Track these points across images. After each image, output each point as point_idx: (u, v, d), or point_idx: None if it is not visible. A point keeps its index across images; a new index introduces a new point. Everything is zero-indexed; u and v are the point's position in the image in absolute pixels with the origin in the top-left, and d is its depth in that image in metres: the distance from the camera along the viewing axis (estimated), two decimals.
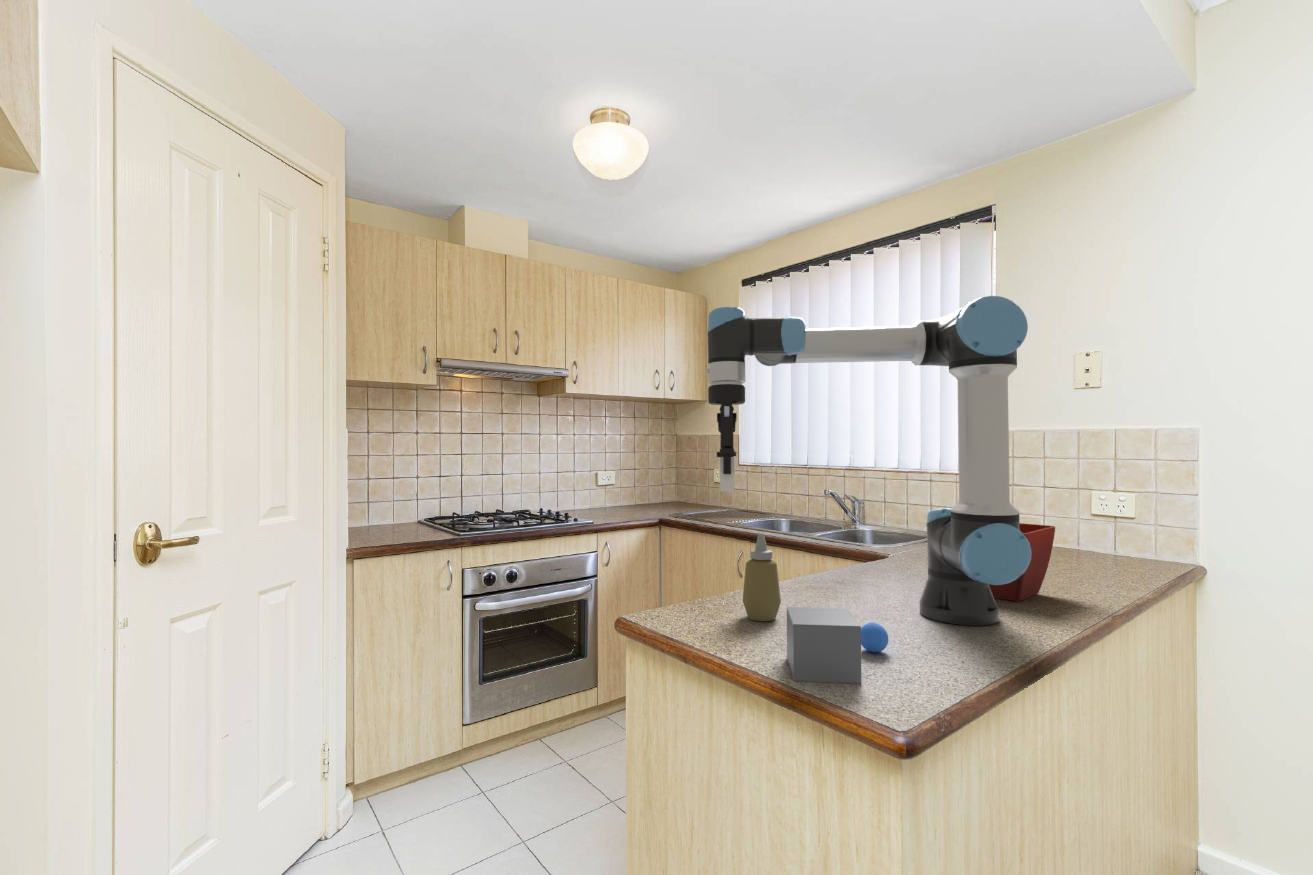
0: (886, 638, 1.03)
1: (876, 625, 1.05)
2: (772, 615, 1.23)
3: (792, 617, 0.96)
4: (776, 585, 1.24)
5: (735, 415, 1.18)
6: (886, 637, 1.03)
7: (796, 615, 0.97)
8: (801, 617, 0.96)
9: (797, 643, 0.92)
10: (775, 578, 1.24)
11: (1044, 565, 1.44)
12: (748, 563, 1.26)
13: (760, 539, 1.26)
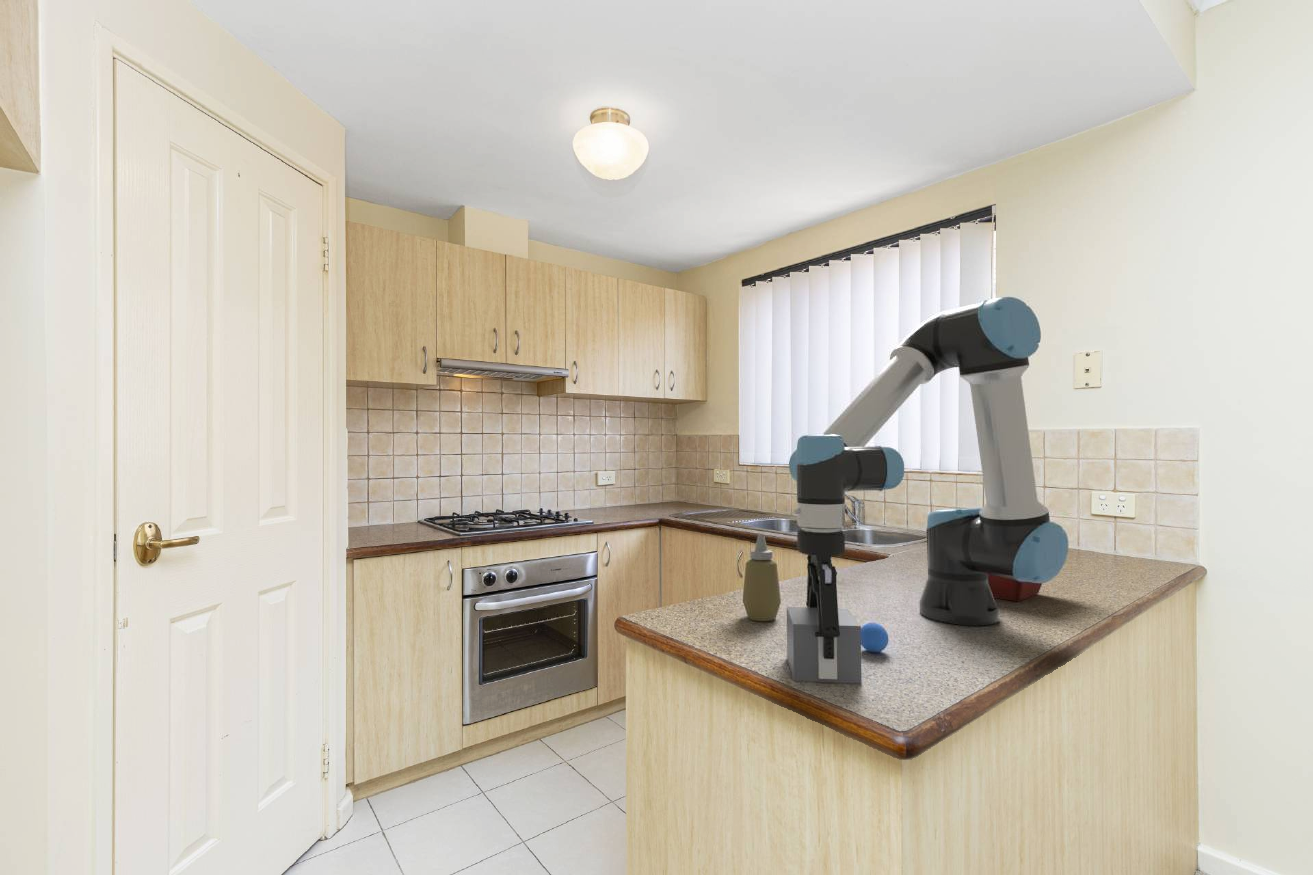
0: (886, 638, 1.03)
1: (876, 625, 1.05)
2: (772, 615, 1.23)
3: (792, 617, 0.96)
4: (776, 585, 1.24)
5: None
6: (886, 637, 1.03)
7: (796, 615, 0.97)
8: (801, 617, 0.96)
9: (797, 643, 0.92)
10: (775, 578, 1.24)
11: None
12: (748, 563, 1.26)
13: (760, 539, 1.26)
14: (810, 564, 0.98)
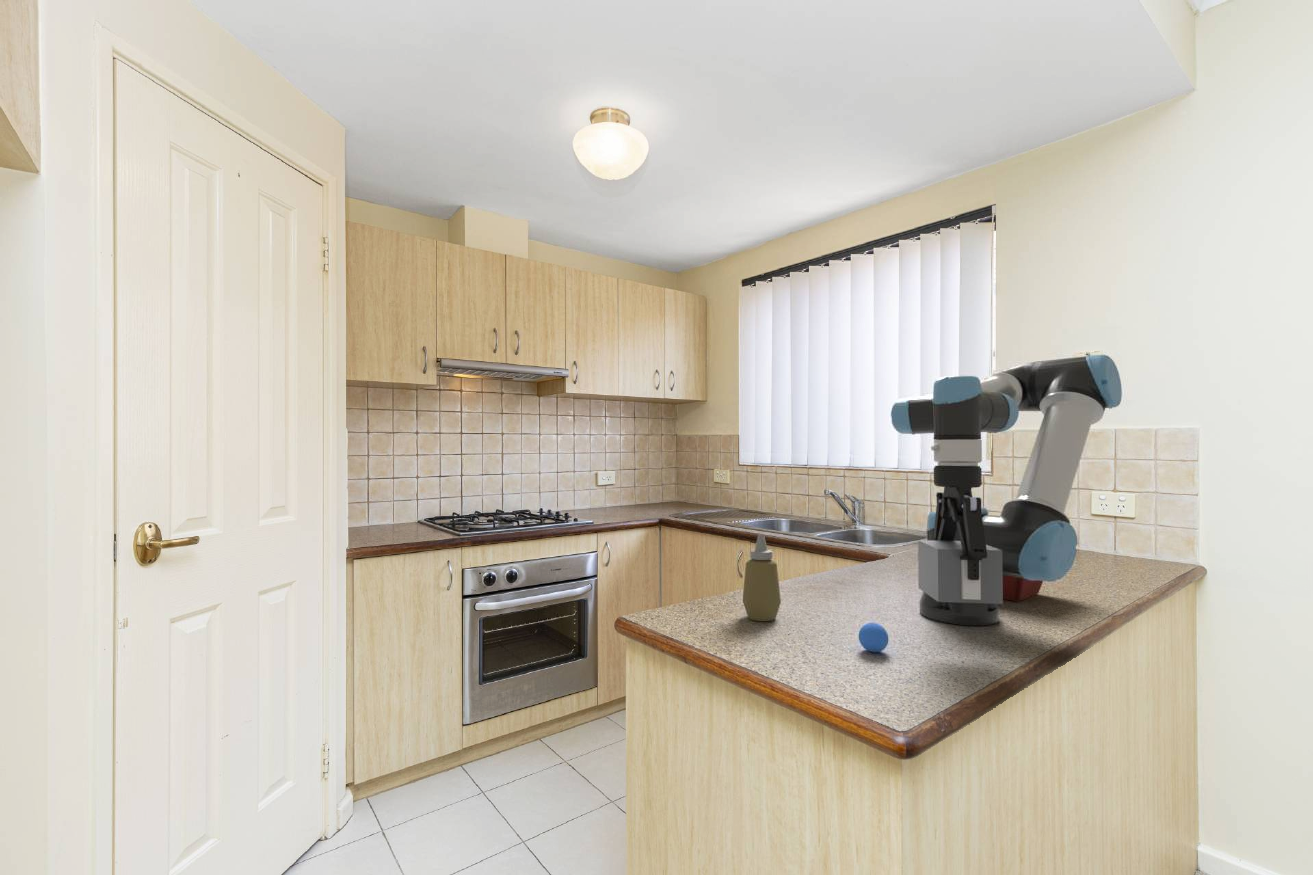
0: (886, 638, 1.03)
1: (876, 625, 1.05)
2: (772, 615, 1.23)
3: (931, 545, 1.03)
4: (776, 585, 1.24)
5: None
6: (886, 637, 1.03)
7: (934, 544, 1.04)
8: (940, 545, 1.03)
9: (941, 567, 0.99)
10: (775, 578, 1.24)
11: None
12: (748, 563, 1.26)
13: (760, 539, 1.26)
14: (946, 498, 1.05)
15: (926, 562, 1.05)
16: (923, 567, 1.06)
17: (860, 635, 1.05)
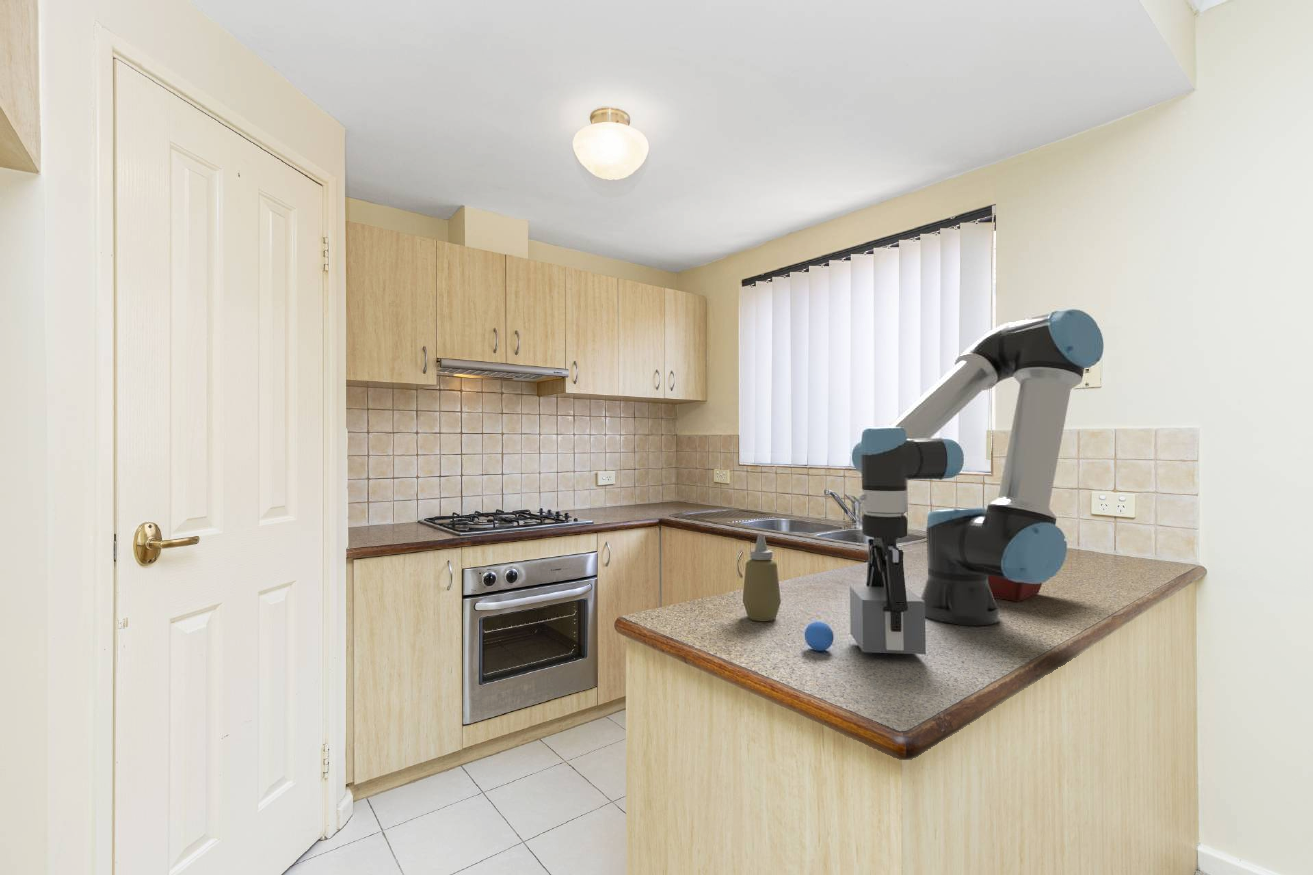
0: (813, 645, 1.05)
1: (825, 649, 1.05)
2: (772, 615, 1.23)
3: (859, 594, 1.04)
4: (776, 585, 1.24)
5: None
6: (813, 646, 1.05)
7: (862, 593, 1.05)
8: (867, 594, 1.04)
9: (866, 617, 1.01)
10: (775, 578, 1.24)
11: None
12: (748, 563, 1.26)
13: (760, 539, 1.26)
14: (874, 546, 1.06)
15: (855, 610, 1.06)
16: (853, 614, 1.08)
17: (832, 632, 1.05)
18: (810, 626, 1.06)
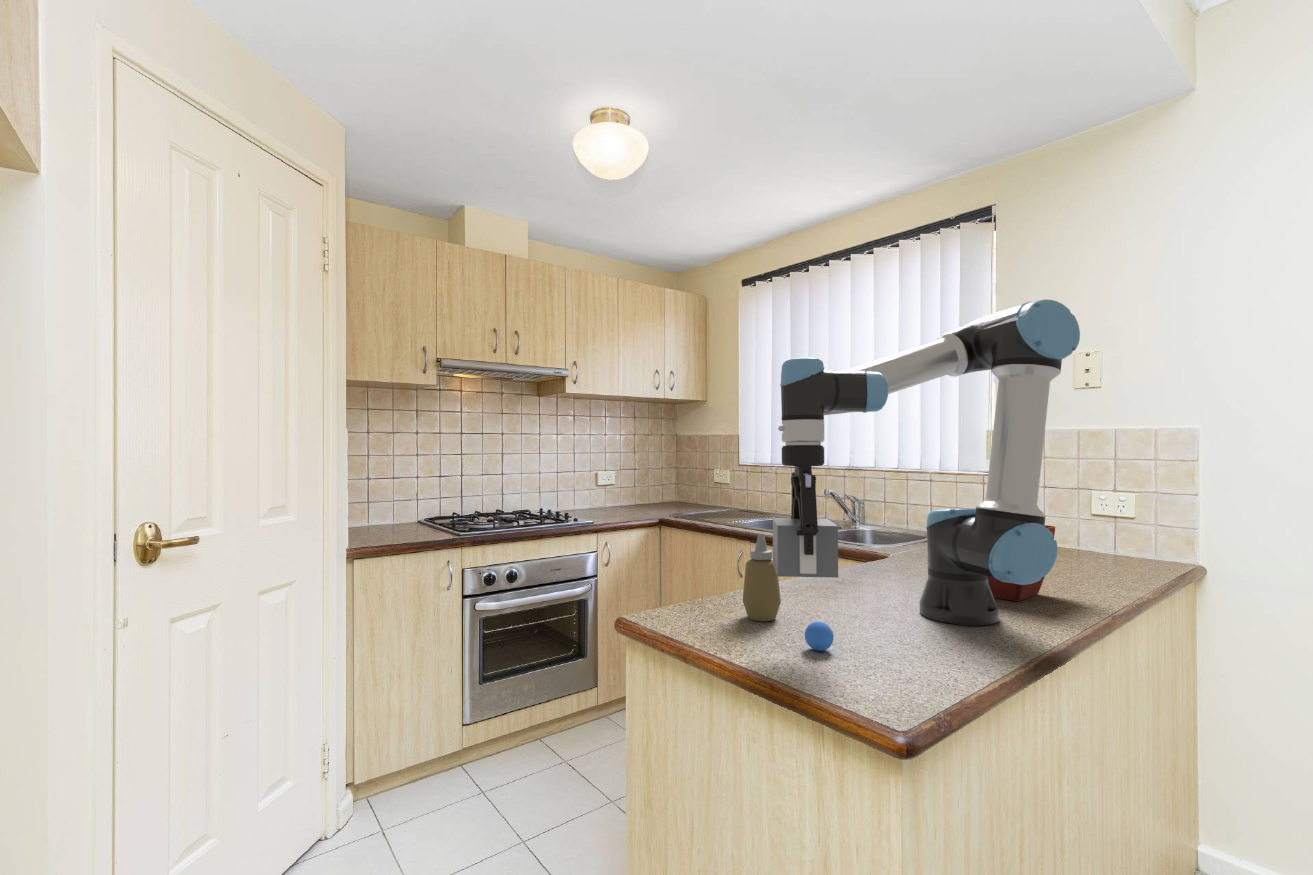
0: (813, 645, 1.05)
1: (825, 649, 1.05)
2: (772, 615, 1.23)
3: (777, 522, 1.06)
4: (776, 585, 1.24)
5: None
6: (813, 646, 1.05)
7: (780, 522, 1.07)
8: (785, 522, 1.06)
9: (780, 542, 1.03)
10: (775, 578, 1.24)
11: None
12: (748, 563, 1.26)
13: (760, 539, 1.26)
14: (793, 477, 1.08)
15: (774, 539, 1.08)
16: None
17: (832, 632, 1.05)
18: (810, 626, 1.06)
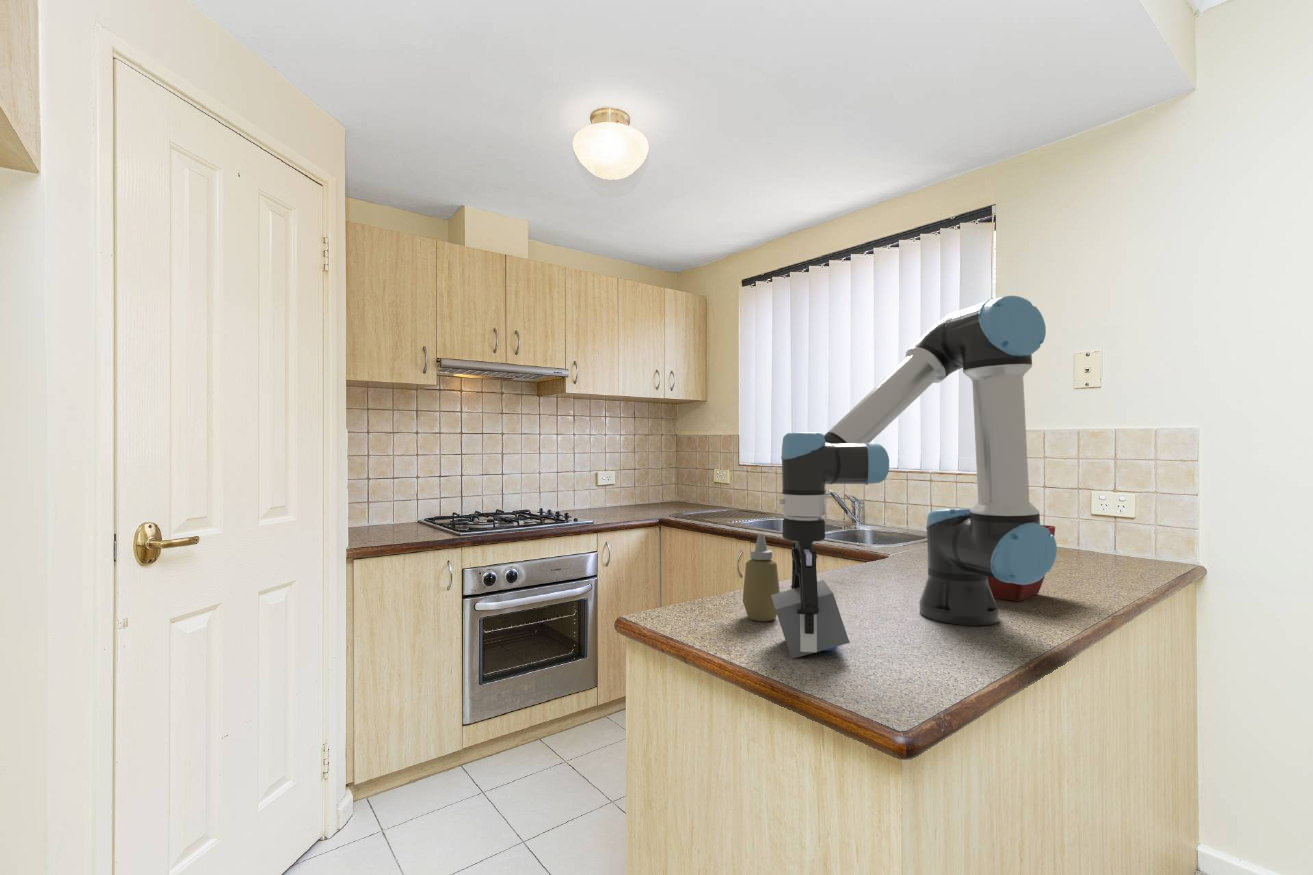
0: None
1: (825, 650, 1.05)
2: (772, 615, 1.23)
3: (775, 603, 1.06)
4: (776, 585, 1.24)
5: None
6: None
7: (778, 600, 1.07)
8: (782, 600, 1.06)
9: (784, 625, 1.02)
10: (775, 578, 1.24)
11: None
12: (748, 563, 1.26)
13: (760, 539, 1.26)
14: (794, 550, 1.08)
15: None
16: None
17: None
18: None
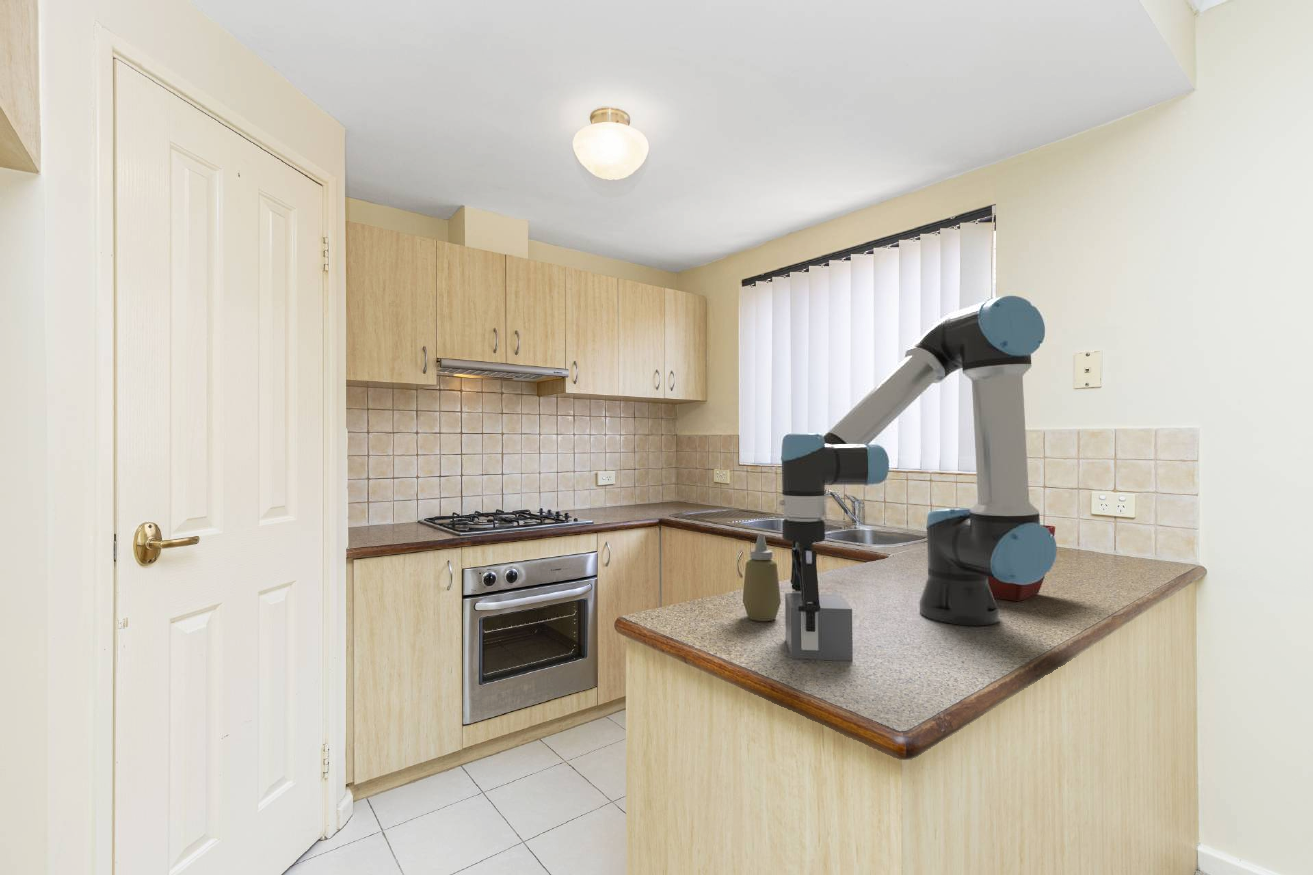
0: None
1: None
2: (772, 615, 1.23)
3: (790, 601, 1.06)
4: (776, 585, 1.24)
5: None
6: None
7: (794, 600, 1.07)
8: (798, 601, 1.06)
9: (794, 624, 1.02)
10: (775, 578, 1.24)
11: None
12: (748, 563, 1.26)
13: (760, 539, 1.26)
14: (794, 551, 1.08)
15: (787, 617, 1.08)
16: None
17: None
18: None
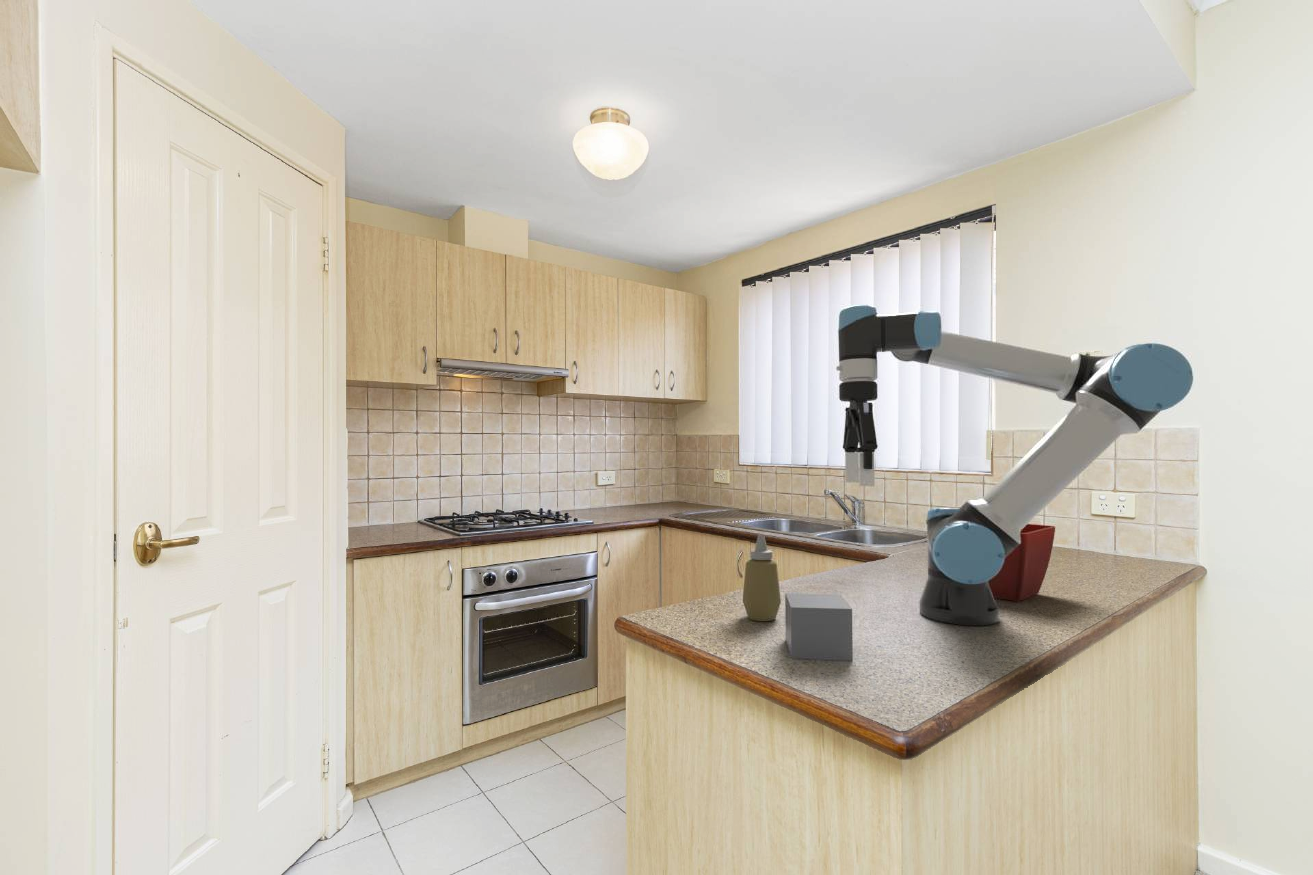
0: None
1: None
2: (772, 615, 1.23)
3: (790, 601, 1.06)
4: (776, 585, 1.24)
5: None
6: None
7: (794, 600, 1.07)
8: (798, 601, 1.06)
9: (794, 624, 1.02)
10: (775, 578, 1.24)
11: (1044, 565, 1.44)
12: (748, 563, 1.26)
13: (760, 539, 1.26)
14: (849, 411, 1.24)
15: (787, 617, 1.08)
16: None
17: None
18: None
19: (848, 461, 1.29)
